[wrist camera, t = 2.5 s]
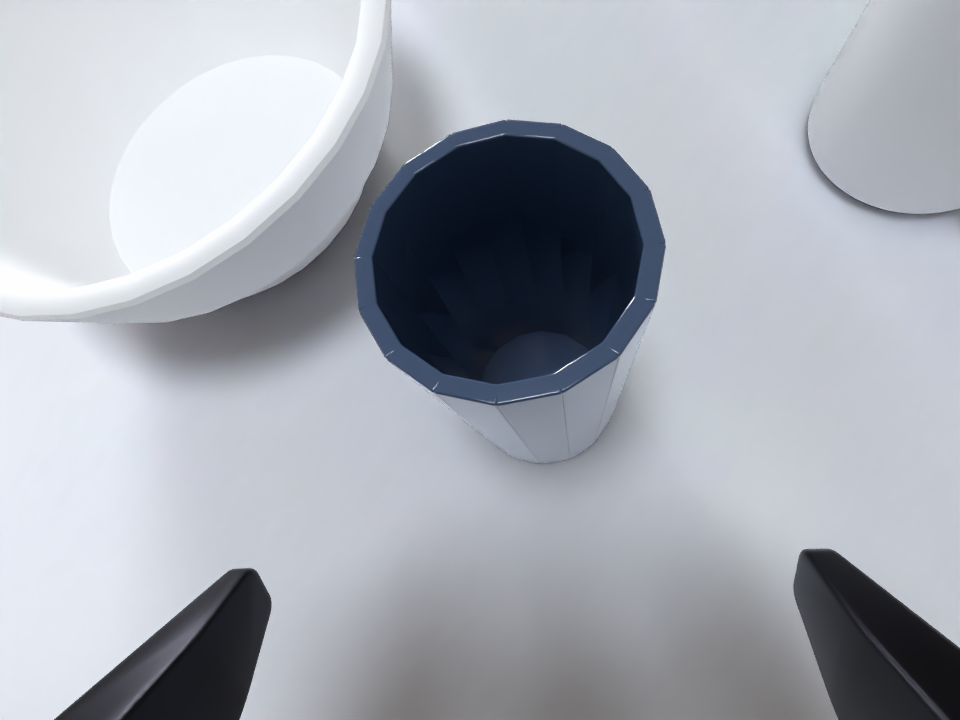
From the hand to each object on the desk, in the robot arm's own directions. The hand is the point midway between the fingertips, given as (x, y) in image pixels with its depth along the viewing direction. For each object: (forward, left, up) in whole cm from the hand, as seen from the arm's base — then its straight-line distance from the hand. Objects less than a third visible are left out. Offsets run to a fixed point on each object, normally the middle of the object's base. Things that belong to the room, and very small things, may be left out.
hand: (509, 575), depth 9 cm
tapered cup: (+5, -3, -13) cm, 14 cm away
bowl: (+24, +4, -13) cm, 28 cm away
